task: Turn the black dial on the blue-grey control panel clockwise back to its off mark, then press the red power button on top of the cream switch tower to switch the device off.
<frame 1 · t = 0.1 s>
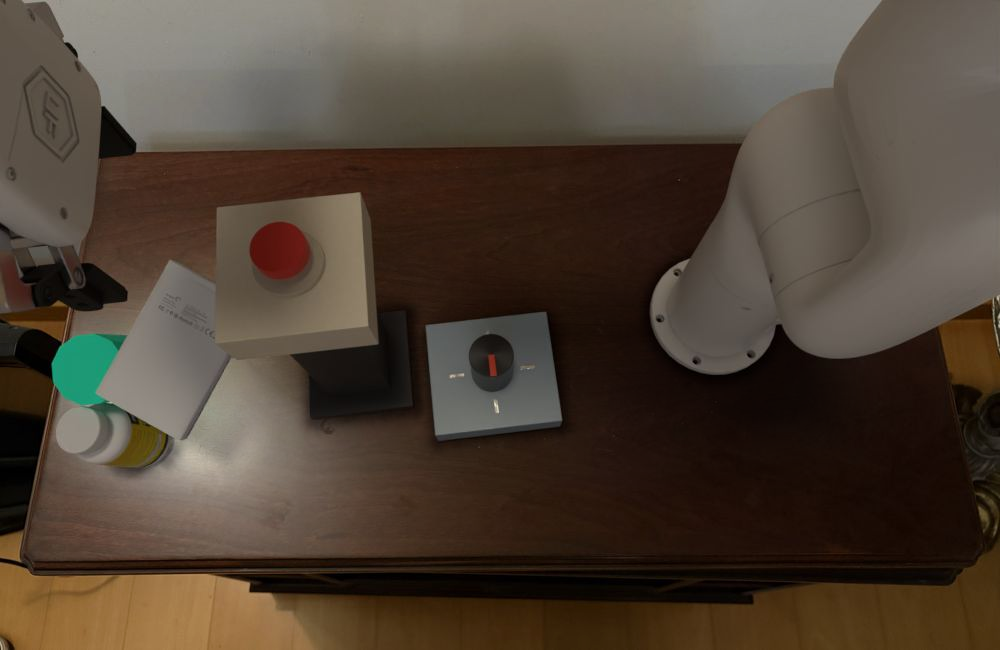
hand: (107, 223, 42), 31 cm above the cabinet top, tool pointing down, fingers open, 9 cm apart
dial panel: (492, 379, 71), on the cabinet top
hard drive: (172, 348, 57), point 14 cm above the cabinet top, touching candle
candle: (86, 369, 58), point 13 cm above the cabinet top, touching hard drive
dial: (491, 363, 65), point 6 cm above the cabinet top, hinge at 90.0°
supplement bottle: (147, 439, 69), on the cabinet top
power button: (280, 250, 45), point 27 cm above the cabinet top, slide at 0.1 cm
switch tower: (361, 365, 71), on the cabinet top
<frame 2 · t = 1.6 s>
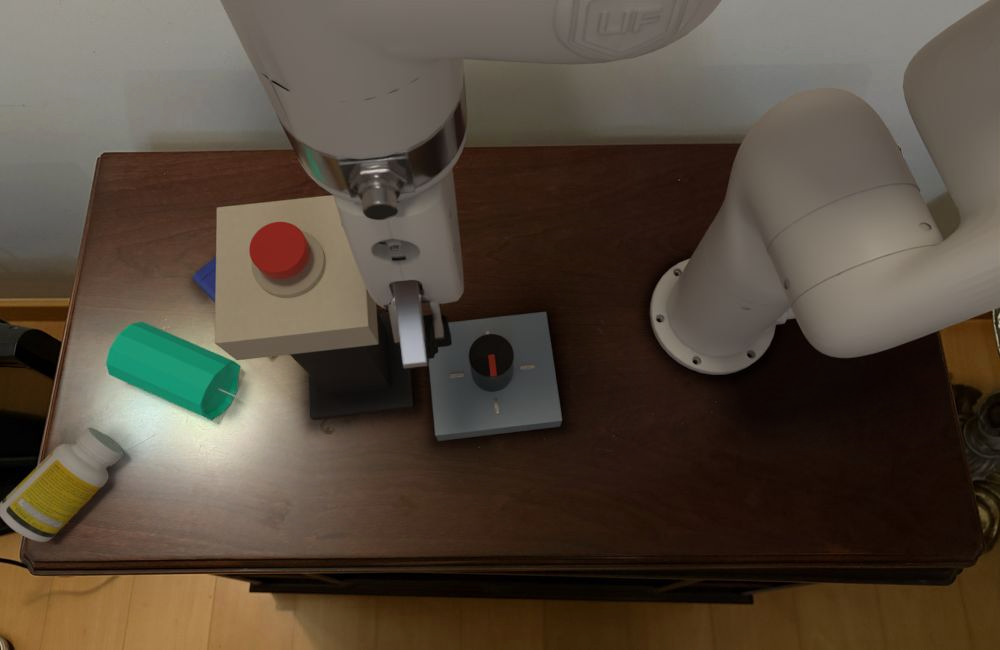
hand: (419, 272, 45), 27 cm above the cabinet top, tool pointing down, fingers open, 9 cm apart
hard drive: (263, 294, 73), on the cabinet top, touching switch tower
candle: (127, 349, 69), point 3 cm above the cabinet top
supplement bottle: (20, 526, 64), point 3 cm above the cabinet top
everything else where it was.
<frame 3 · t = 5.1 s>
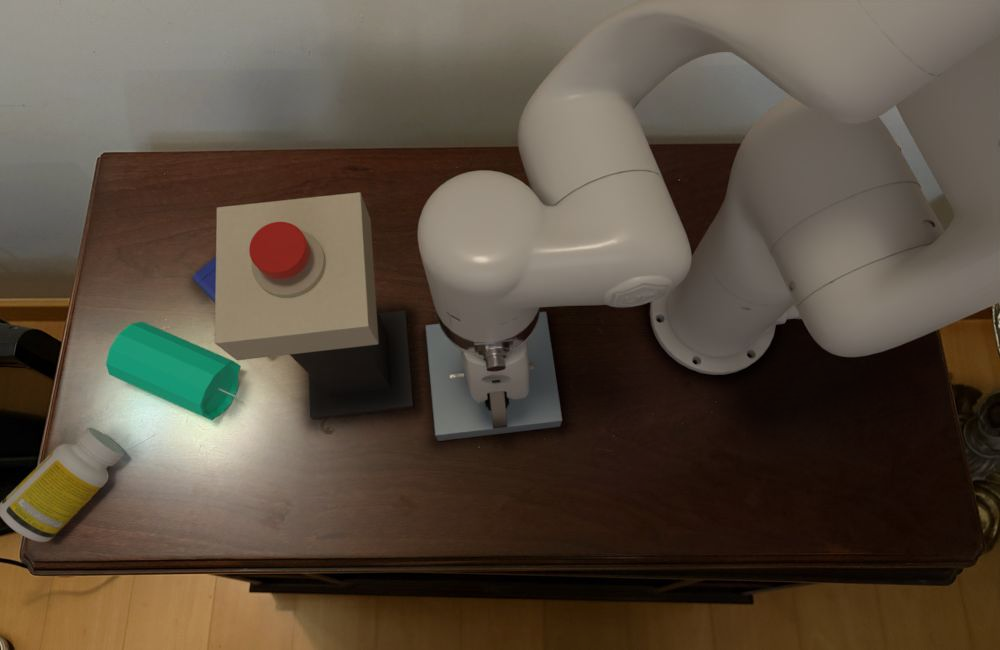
hand: (492, 369, 67), 4 cm above the cabinet top, tool pointing down, fingers closed on dial, 4 cm apart
dial: (491, 363, 65), point 6 cm above the cabinet top, hinge at 90.0°, touching gripper
everything else where it was.
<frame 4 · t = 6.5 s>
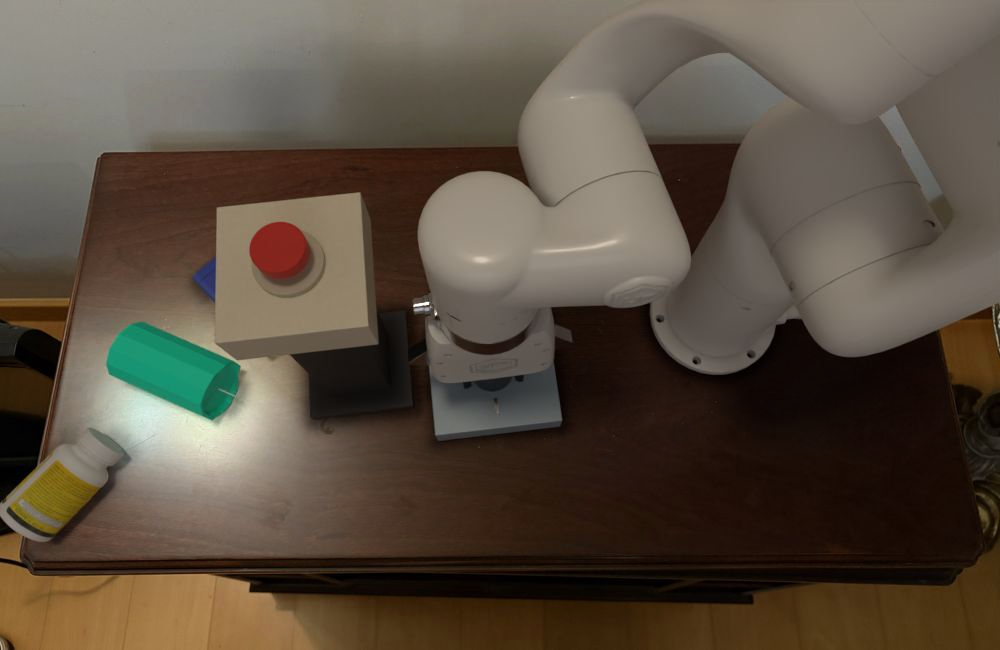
hand: (491, 369, 67), 4 cm above the cabinet top, tool pointing down, fingers open, 4 cm apart
dial: (491, 363, 65), point 6 cm above the cabinet top, hinge at -0.1°
everything else where it was.
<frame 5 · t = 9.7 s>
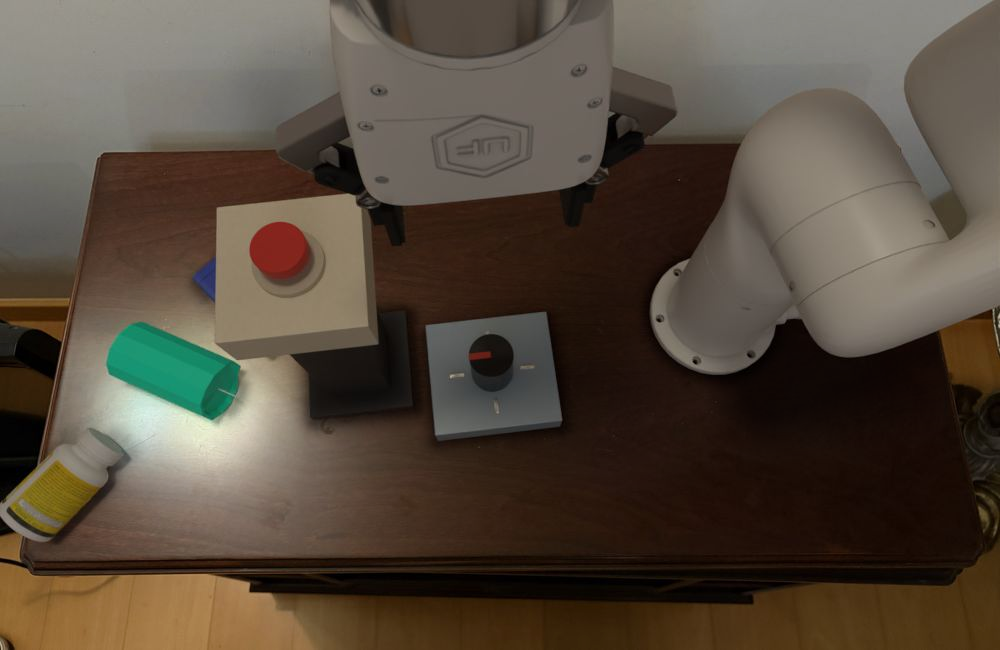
hand: (482, 211, 37), 35 cm above the cabinet top, tool pointing down, fingers open, 8 cm apart
nothing on the cabinet top moved.
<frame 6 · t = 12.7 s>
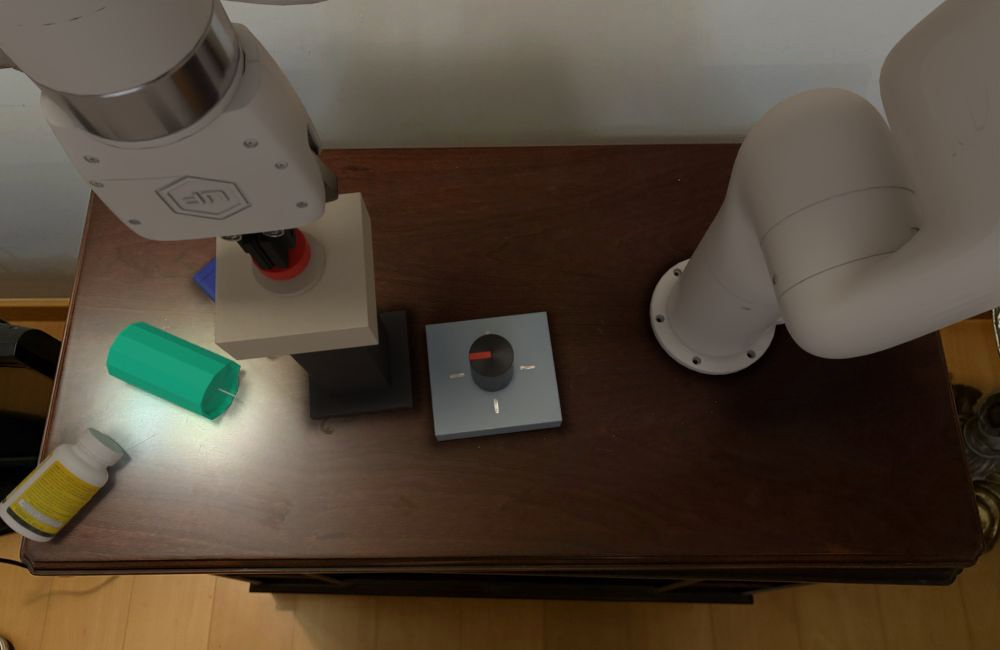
hand: (275, 247, 45), 28 cm above the cabinet top, tool pointing down, fingers closed
power button: (280, 251, 46), point 27 cm above the cabinet top, slide at -0.1 cm, touching gripper
everything else where it was.
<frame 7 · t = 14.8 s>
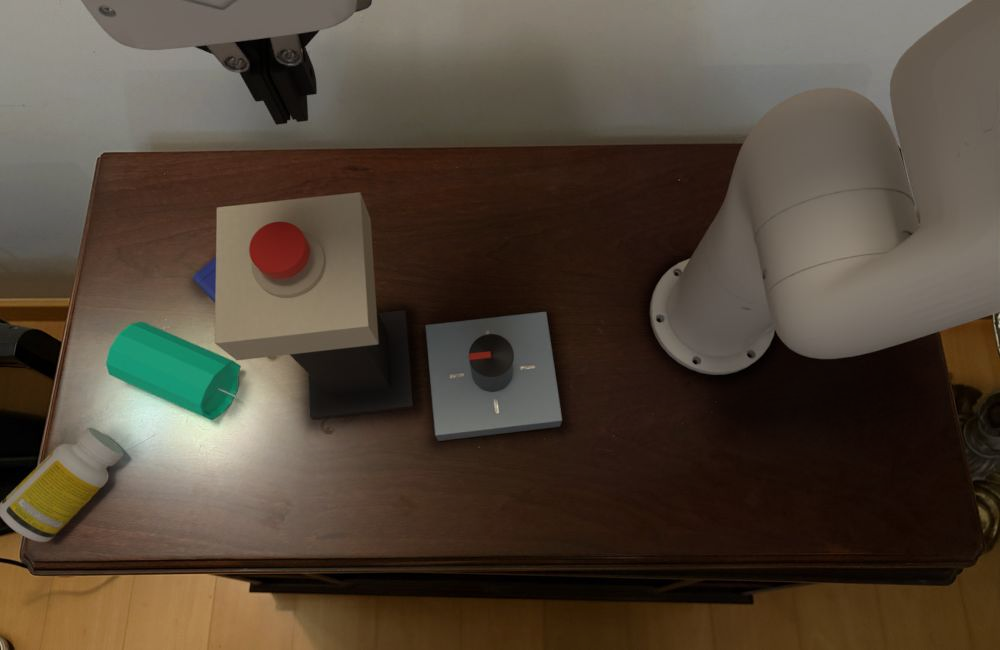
hand: (291, 99, 36), 38 cm above the cabinet top, tool pointing down, fingers closed
power button: (279, 250, 45), point 27 cm above the cabinet top, slide at 0.1 cm
everything else where it was.
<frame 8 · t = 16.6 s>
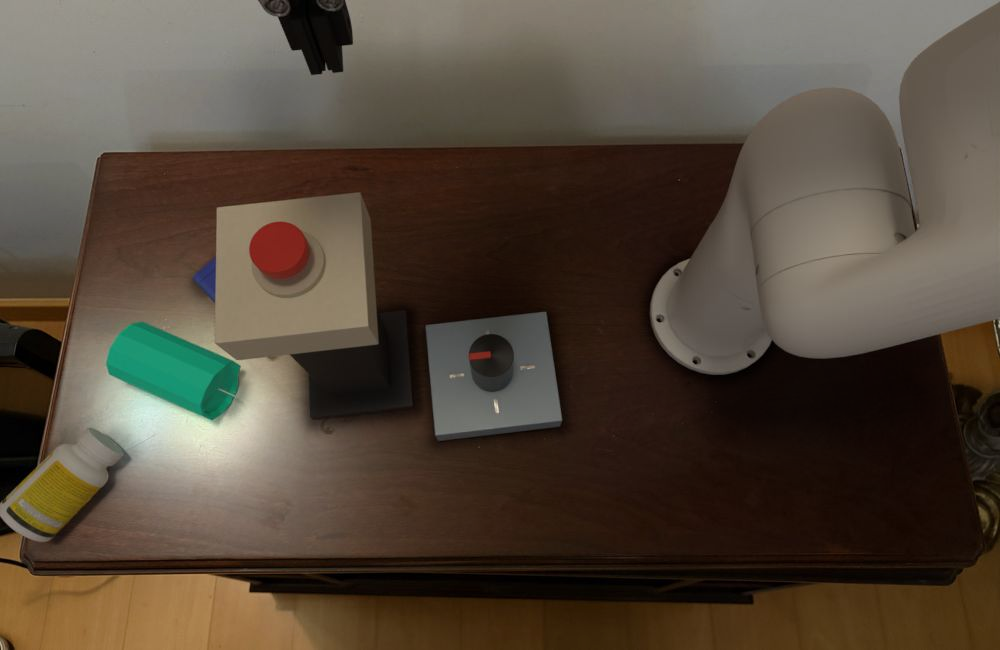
hand: (326, 50, 36), 39 cm above the cabinet top, tool pointing down, fingers closed
nothing on the cabinet top moved.
at the end: dial at +0° (first picture: +90°); power button pushed in 1.0 cm at the most during the clip, back to where it started at the end; power button slide at 0.1 cm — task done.
